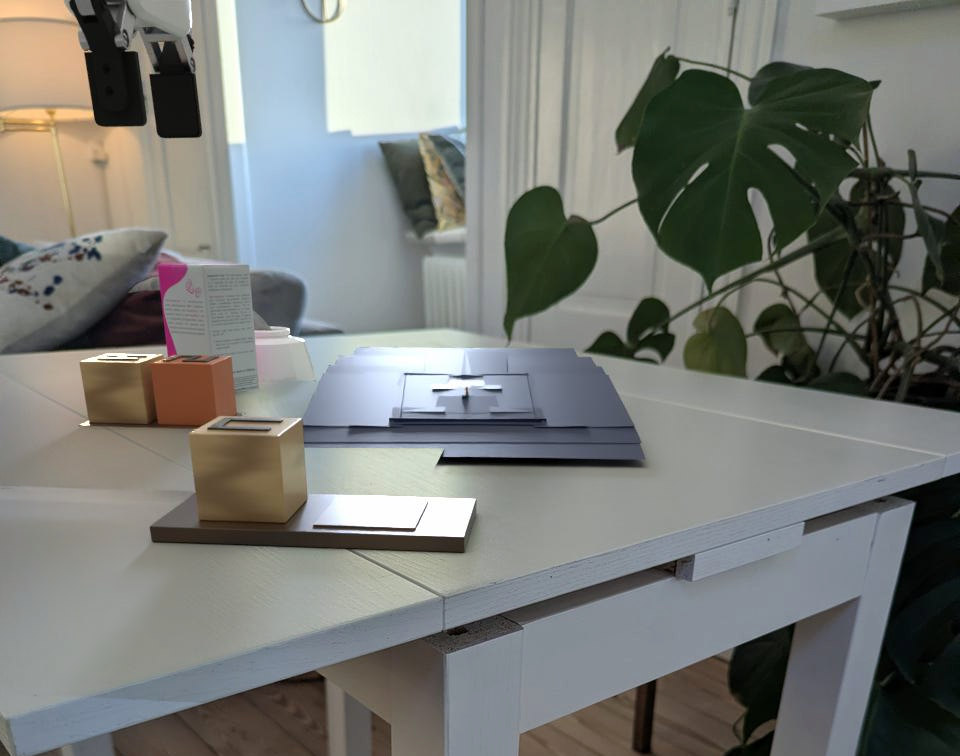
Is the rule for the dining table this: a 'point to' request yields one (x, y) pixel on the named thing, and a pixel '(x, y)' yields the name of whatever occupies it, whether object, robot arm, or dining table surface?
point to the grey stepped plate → (472, 404)
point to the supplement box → (211, 315)
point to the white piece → (268, 348)
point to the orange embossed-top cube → (193, 389)
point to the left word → (122, 391)
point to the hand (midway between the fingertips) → (153, 132)
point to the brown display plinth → (296, 498)
